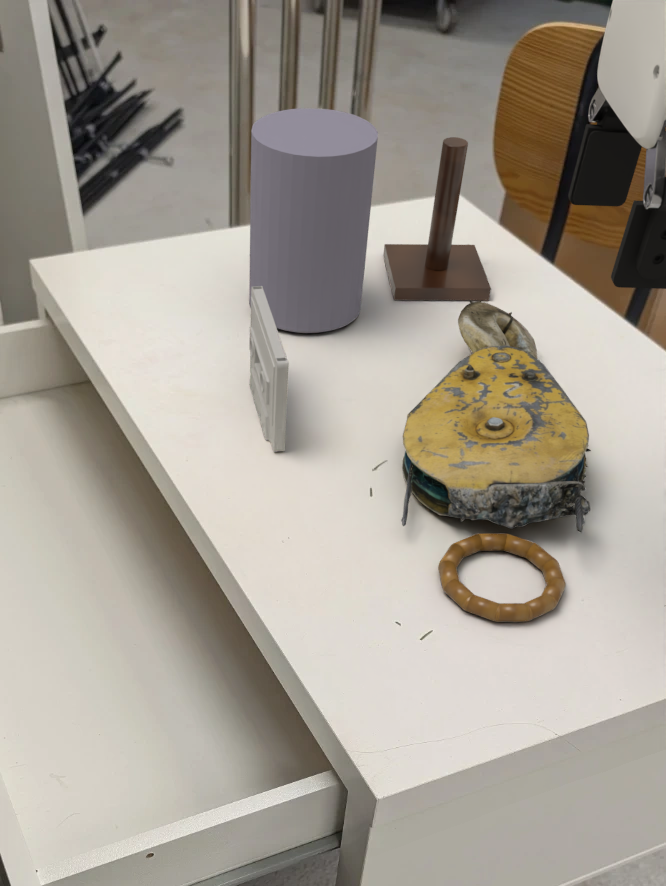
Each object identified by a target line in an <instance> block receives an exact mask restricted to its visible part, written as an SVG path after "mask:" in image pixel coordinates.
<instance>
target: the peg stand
mask: <svg viewBox="0 0 666 886" xmlns="http://www.w3.org/2000/svg"><path fill="white" fill-rule="evenodd" d="M468 147H469V141H468V140H467V139H464V138H461V137H458V136H457V137H456V136H455V137H454V136H451V137H446V138H444V139H443V140H442V146H441V152H440V158H439V159H440V160H439V166H438V171H437V172H438V173H437V179H436V186H435V194H434V199H433V205H432V213H431V214H432V215H431V221H430V226H429V234H428V241H427V244H423V243H422V244H419V243H418V244H416V243H415V244H414V243H413V244H411V243H410V244H409V243H408V244H407V243H403V244H402V243H385V244H384V245H383V255H382V257H383V261H384V264H385V269H386V273H387V277H388V281H389V285H390V288H391V292H392V296H393V300H394V301H469V300H471V301H489V300H490V296H491V292H492V287H491V284H490V282H489V279H488V276H487V274H486V271H485V269H484V266H483V264H482V260H481V258H480V256H479V253H478V250H477V247H476V244H453V237H454V232H455V226H456V220H457V213H458V207H459V202H460V196H461V190H462V189H461V188H462V183H463V177H464V170H465V165H466V158H467V153H468Z"/></svg>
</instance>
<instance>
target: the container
mask: <svg viewBox="0 0 666 886" xmlns="http://www.w3.org/2000/svg"><path fill="white" fill-rule="evenodd" d="M250 137H251V141H250V143H251V145H250V207H249V209H250V211H249V212H250V213H249V215H250V216H249V218H250V221H249V282H248V283H249V285H248V286H249V291H248V292H249V293H248V295H249V296H248V305H249V310H251V287H254V286H263V290H264V293H265V296H266V299H267V302H268V304H269V307H270V310H271V313H272V316H273V319H274V322H275V325H276V328H277V330H281V331H284V332H289V333H297V334H318V333H325V332H331V331H334V330H338V329H341V328H343V327H345V326H348V325H349V324H351V323H352V322H354V321H355V320H356V319H357V318H358V316H359V315H360V312H361V309H362V300H363V299H362V298H363V290H364V289H363V287H364V279H365V269H366V260H367V249H368V240H369V239H368V238H369V228H370V219H371V218H370V217H371V208H372V198H373V190H374V188H373V187H374V178H375V168H376V159H377V148H378V139H379V132H378V130H377V128H376V126H374V125H373V124H372V123H371V122H370V121H368V120H366V119H364V118H363V117H360V116H358V115H356V114H353V113H349V112H345V111H342V110H336V109H328V108H319V107H307V108H306V107H299V108H290V109H289V108H288V109H282V110H278V111H274V112H271V113H268V114H265V115H263V116H261V117H260V118H258V119H257V120H256V121H255V122H253V125H252V127H251V135H250Z"/></svg>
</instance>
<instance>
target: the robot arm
mask: <svg viewBox="0 0 666 886" xmlns="http://www.w3.org/2000/svg"><path fill="white" fill-rule="evenodd" d="M596 72H597V73H596V75H597V76H596V77H597V84H598V88H597V89H596V92H595V93H594V95H593V96H592V98H591V100H590V103H589V107H588V111H587V113H588V115H587V119H588V122H589V123H586V124H585V128H584V132H583V135H582V140H581V143H580V148H579V151H578V156H577V159H576V163H575V167H574V170H573V175H572V178H571V183H570V186H569V191H568V195H567V196H568V197H567V198H568V200H569V202H570V203H571V204H572V206H573V205H574V206H588V207H589V206H590V207H591V206H593V207H621V206H623V205H624V204H625V203H626V201H627V199H628V195H629V192H630V188H631V185H632V181H633V178H634V175H635V172H636V168H637V165H638V162H639V158H640V155H641V152H642V148H644V149H646V152H645V164H644V176H643V177H644V179H643V194H642V200H633V202H632V205H631V208H630V212H629V215H628V218H627V222H626V224H625V227H624V232H623V235H622V238H621V241H620V245H619V248H618V252H617V255H616V258H615V261H614V264H613V268H612V271H611V274H610V279H611V281H612V283H613V285H614V287H616V288H621V289H622V288H625V289H656V290H657V289H658V290H660V289H661V290H665V289H666V0H612V2H611V6H610V10H609V13H608V17H607V21H606V26H605V30H604V34H603V39H602V43H601V47H600V52H599V58H598V64H597V71H596ZM591 123H592V124H591ZM593 123H596V124H593Z"/></svg>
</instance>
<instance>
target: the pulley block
mask: <svg viewBox="0 0 666 886" xmlns="http://www.w3.org/2000/svg"><path fill="white" fill-rule="evenodd" d="M468 301H469V303H467V304H465V306H464V307H463V308H462V309H461V311H460V313H459V315H458V318H457V325H458V328H459V332H460V335H461V337H462V339H463V342H464V343H465V344H466V346H467V347H468V349H469V350H470V351H471V353H470V354H469V355H467V356H466V357H464V358H463V359H460V360H459V361H458V362H457V363H456V364H455V365H454V366H453V368H452V369H451V370H450V371H449V372H448V373H447V374H446V375H445V376H444V377H443V378H442V379H441V380H440V381H439V382H438V383H437V384H436V385H435V387H433V388H432V389H431V390H430V391H429V392H428V393H427V394H426V395H425V396H424V397H423V398H422V399H421V400H420V401H419V402H418V403H417V404H416V405H415V406H414V408H412V409H411V410H410V412H408V413H407V415H406V420H405V421H406V422H405V425H404V428H403V433H402V443H403V444H402V445H403V447H404V450H405V451H404V455H403V458H402V462H401V468H402V475H403V479H404V481H405V483H406V488H405V495H404V499H403V511H402V517H401V519H400V521H401V525H402V527H405V526H406V525H407V520H408V515H409V504H410V500H411V497H412V494H413V495H414V497H415V498H416V499H417V500H418V502H420V503H421V504H422V505H423V506H424V507H426V508H427V509H429V510H430V511H432V512H434V513H435V514H437V515H439V516H444V517H451V518H456V519H460V522H463V521H465V520H466V519H467V520H471V521H476V520H487V521H490V522H491V523H493V524H497V525H498V526H503V527H506V528H508V529H511V530H513V529H515V528H516V527H519V528H521V527H524V526H526V525H528V524H532V523H537V522H538V523H540V522H544V521H548V520H553V519H560V518H564V517H568V516H569V517H570V516H575V525H576V531H577V532H579V533H581V534H582V533H583V531H584V525H585V524H586V522H585V521H586V520H585V516H586V515H588V514H589V512H591V506H590V501H589V500H588V499H587V498H586V497H585V496H584V495H582V491H583V492H584V491H586V490H587V488H586V486H585V483H586V481H585V479H586V478H587V475H586V472H587V468H588V465H587V456H586V453H587V452H592V450H591V449H589V440H590V433H589V429H588V428H589V427H588V423H587V420H586V419H585V418H584V417H583V415H582V414H581V412H580V410H578V408H577V407H576V405H575V404H574V403H573V402H572V400H571V399H570V397H569V396H568V395H567V393H566V391H565V390H564V389H563V388H562V386H561V385H560V384H559V382H558V381H557V380H556V378H555V377H554V376H553V374H552V373H551V372H550V370H548V368H547V367H546V365H545V364H544V363H543V362H541V361H540V360H539V358H538V350H537V346H536V342H535V338H534V337H533V336H532V334H531V333H530V332H529V330H528V329H527V328H526V327H525V326H524V325H523V324H522V323H521V322H520V321H519V320H518V319H516V318H515V317H514V316H513V315H512V314H513V312H512V311H511V312H507V311H505V310H504V309H501V308H499V307H497V306H495V305H492V304H490V303H488V302H485V301H484V302H482V300H476V301H473V300H468ZM570 504H573V505H571V506H570Z"/></svg>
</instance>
